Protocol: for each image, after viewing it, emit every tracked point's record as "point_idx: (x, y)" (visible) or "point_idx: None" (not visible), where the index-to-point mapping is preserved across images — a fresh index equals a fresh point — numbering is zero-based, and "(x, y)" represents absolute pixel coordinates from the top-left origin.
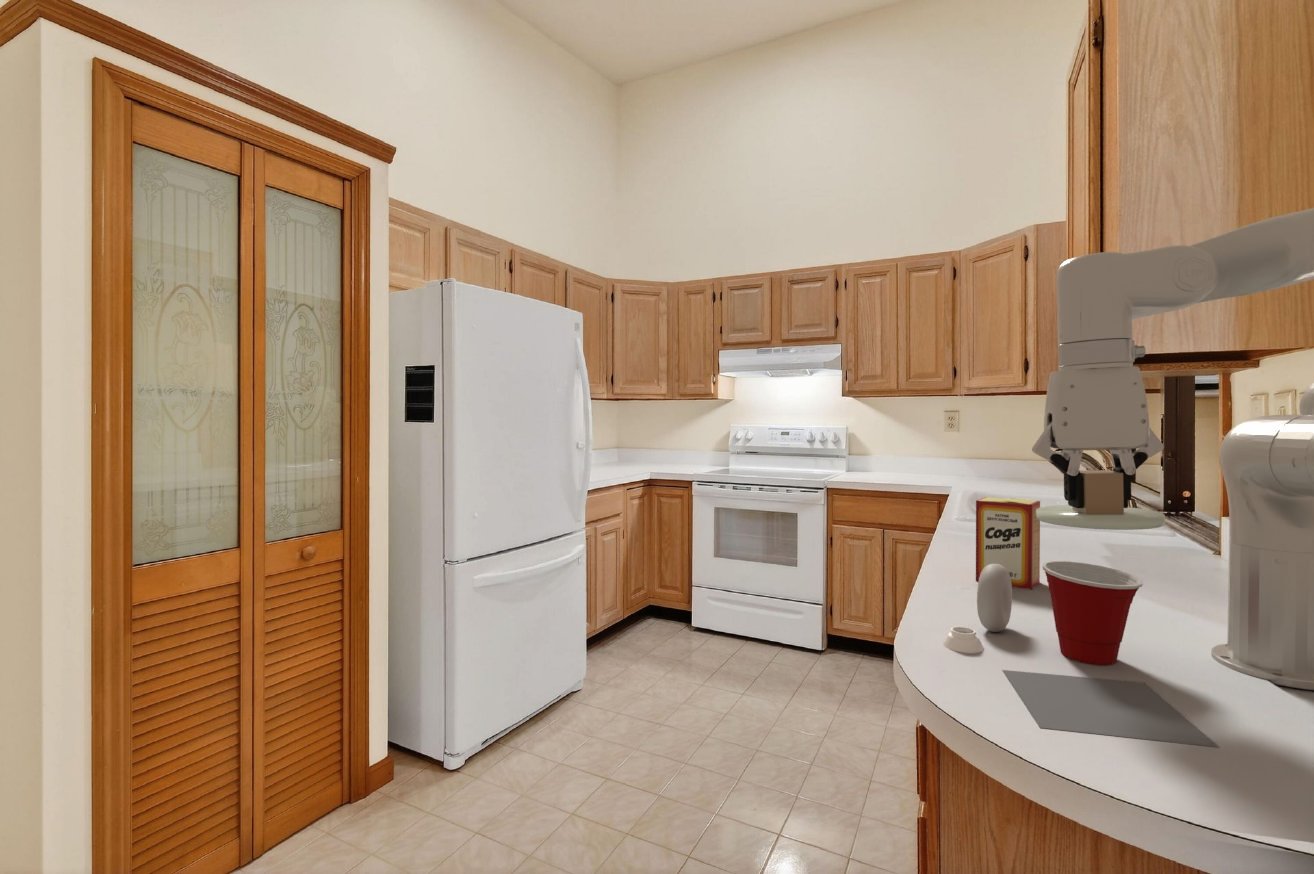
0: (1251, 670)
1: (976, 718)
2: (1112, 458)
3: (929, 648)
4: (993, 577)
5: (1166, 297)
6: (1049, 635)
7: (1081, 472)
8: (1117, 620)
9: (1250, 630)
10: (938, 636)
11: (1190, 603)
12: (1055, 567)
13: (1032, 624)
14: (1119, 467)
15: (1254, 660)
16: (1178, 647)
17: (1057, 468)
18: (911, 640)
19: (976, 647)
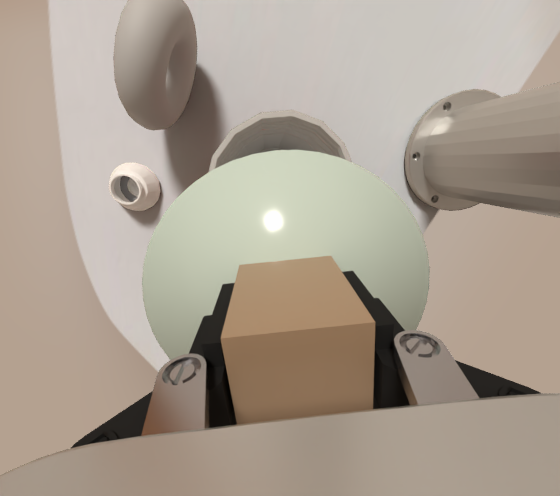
0: (417, 193)
1: (152, 348)
2: (411, 395)
3: (96, 192)
4: (138, 99)
5: None
6: (250, 84)
7: (240, 410)
8: None
9: (452, 180)
10: (102, 137)
11: None
12: (238, 136)
13: (237, 27)
14: (395, 401)
15: (431, 181)
16: (397, 92)
17: (145, 398)
18: (70, 166)
19: (148, 205)
